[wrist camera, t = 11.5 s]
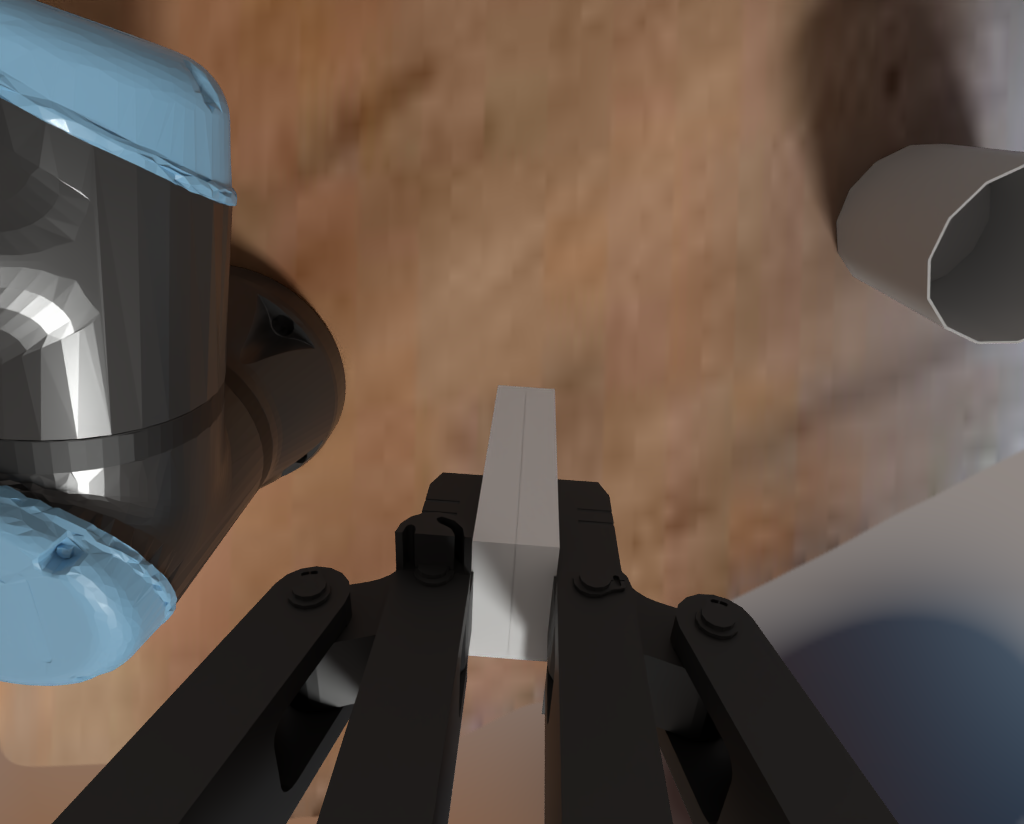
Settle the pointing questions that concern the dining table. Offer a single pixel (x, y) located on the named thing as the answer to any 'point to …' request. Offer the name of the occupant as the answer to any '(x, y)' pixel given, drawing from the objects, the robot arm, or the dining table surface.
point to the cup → (943, 236)
